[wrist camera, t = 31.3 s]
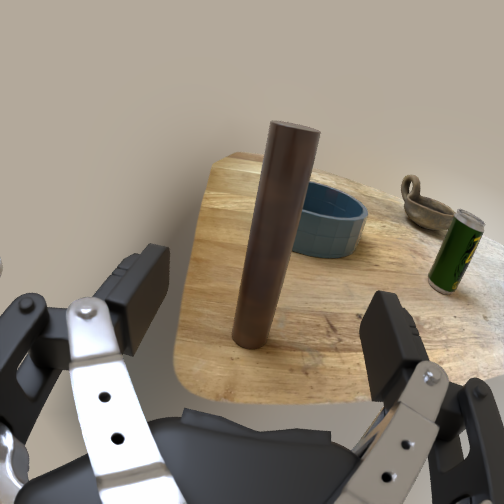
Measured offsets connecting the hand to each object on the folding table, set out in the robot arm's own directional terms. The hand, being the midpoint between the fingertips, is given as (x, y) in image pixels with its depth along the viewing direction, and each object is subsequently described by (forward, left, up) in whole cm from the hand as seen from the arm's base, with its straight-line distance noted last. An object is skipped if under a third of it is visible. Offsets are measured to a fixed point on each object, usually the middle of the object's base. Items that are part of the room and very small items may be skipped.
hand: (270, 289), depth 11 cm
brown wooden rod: (-2, +10, -13) cm, 17 cm away
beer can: (+23, +31, -13) cm, 41 cm away
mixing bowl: (0, +36, -13) cm, 38 cm away
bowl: (+26, +61, -13) cm, 68 cm away
